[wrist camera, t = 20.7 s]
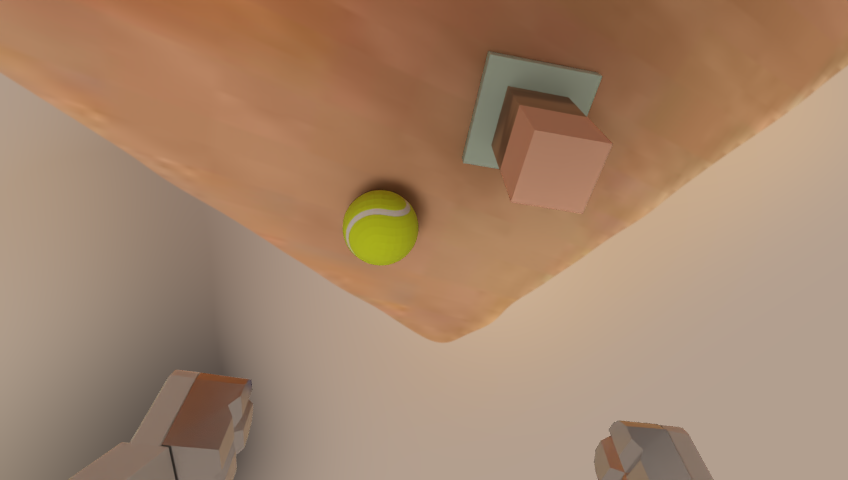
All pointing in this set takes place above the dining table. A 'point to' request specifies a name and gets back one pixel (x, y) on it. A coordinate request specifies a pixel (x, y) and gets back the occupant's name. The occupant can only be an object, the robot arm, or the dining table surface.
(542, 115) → the terracotta cube
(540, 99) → the walnut cube
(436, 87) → the dining table surface
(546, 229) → the dining table surface
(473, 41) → the dining table surface
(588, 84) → the board
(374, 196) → the tennis ball
